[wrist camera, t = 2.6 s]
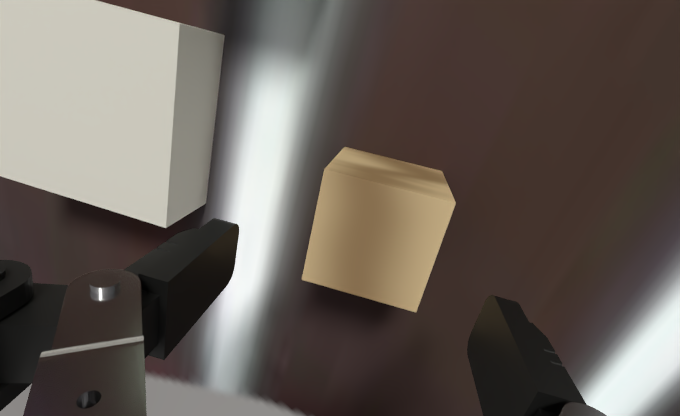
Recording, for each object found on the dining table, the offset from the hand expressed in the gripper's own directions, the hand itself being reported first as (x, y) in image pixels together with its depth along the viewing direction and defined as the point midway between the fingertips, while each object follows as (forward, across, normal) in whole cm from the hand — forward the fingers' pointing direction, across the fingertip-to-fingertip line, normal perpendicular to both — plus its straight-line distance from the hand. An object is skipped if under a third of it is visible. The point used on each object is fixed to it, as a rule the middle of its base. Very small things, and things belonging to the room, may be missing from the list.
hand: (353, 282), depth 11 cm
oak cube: (+8, 0, 0) cm, 8 cm away
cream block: (+8, +14, -2) cm, 16 cm away
